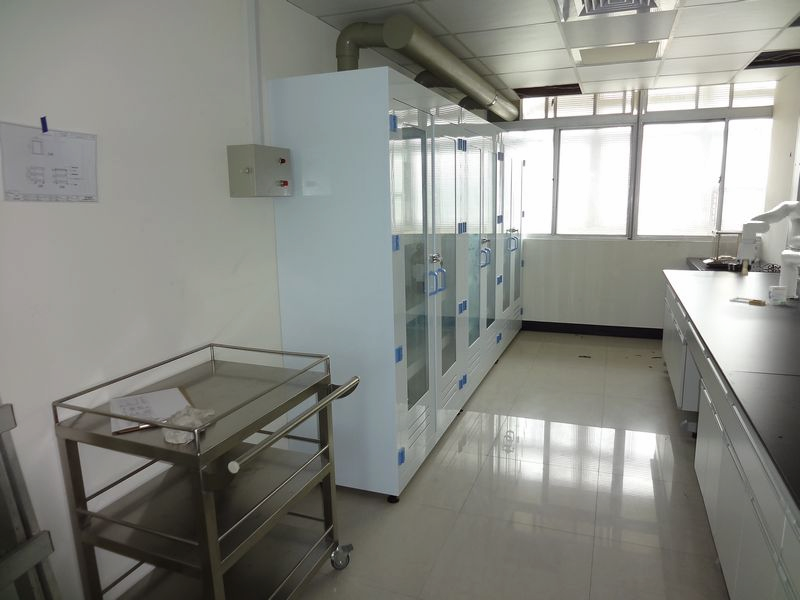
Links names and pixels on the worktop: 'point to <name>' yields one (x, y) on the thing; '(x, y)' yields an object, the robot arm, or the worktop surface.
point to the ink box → (777, 295)
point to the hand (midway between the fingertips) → (745, 270)
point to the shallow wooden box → (757, 302)
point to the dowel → (745, 268)
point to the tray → (740, 300)
